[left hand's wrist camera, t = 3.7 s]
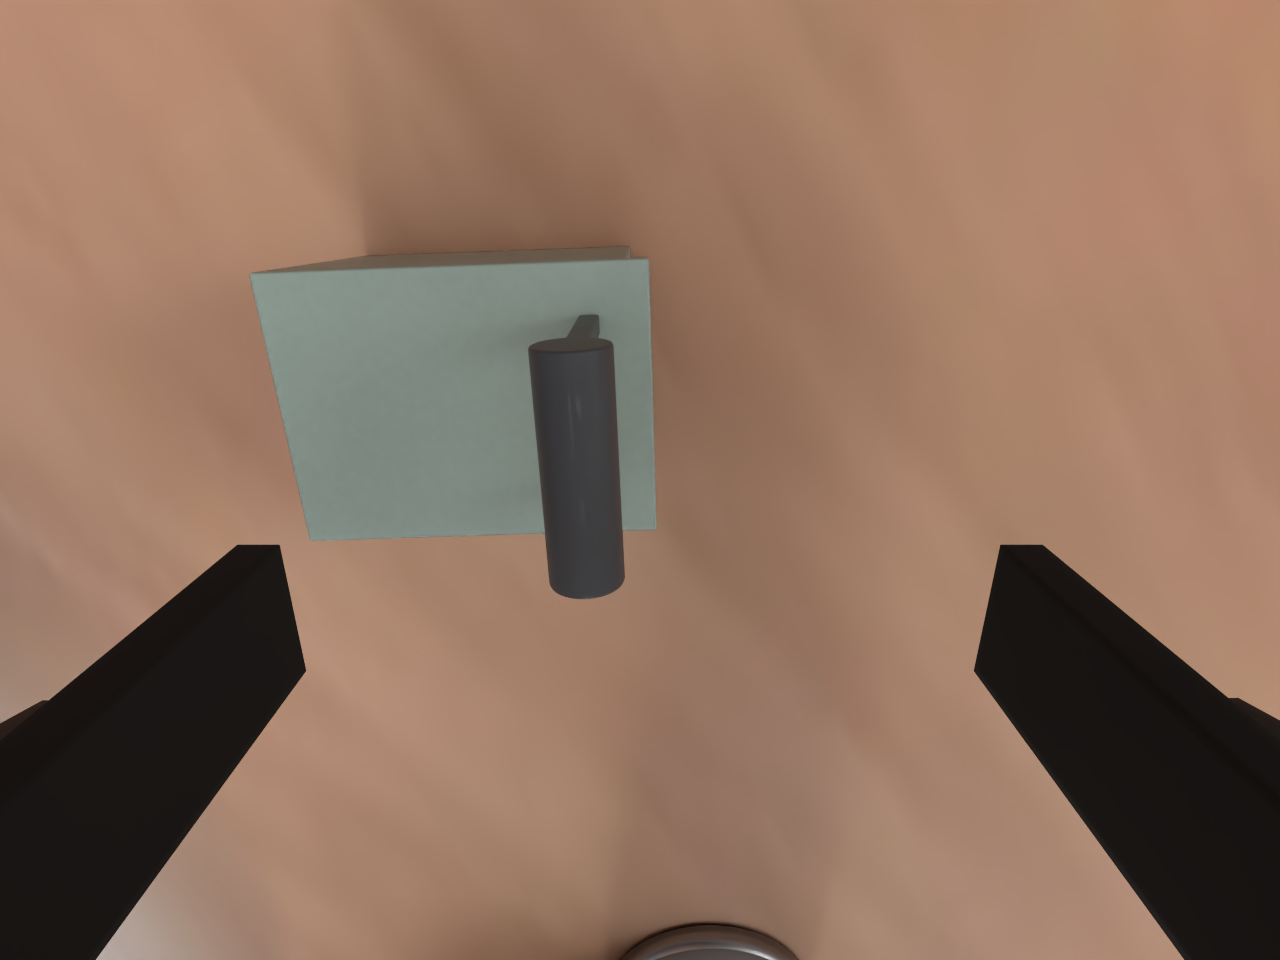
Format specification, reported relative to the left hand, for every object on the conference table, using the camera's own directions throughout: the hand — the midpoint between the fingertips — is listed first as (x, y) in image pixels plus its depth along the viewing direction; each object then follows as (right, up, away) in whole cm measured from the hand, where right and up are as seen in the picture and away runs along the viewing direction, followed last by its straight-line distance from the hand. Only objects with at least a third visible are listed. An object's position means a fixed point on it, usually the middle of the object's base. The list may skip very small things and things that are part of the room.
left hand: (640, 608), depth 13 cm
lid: (-6, +5, +13) cm, 15 cm away
